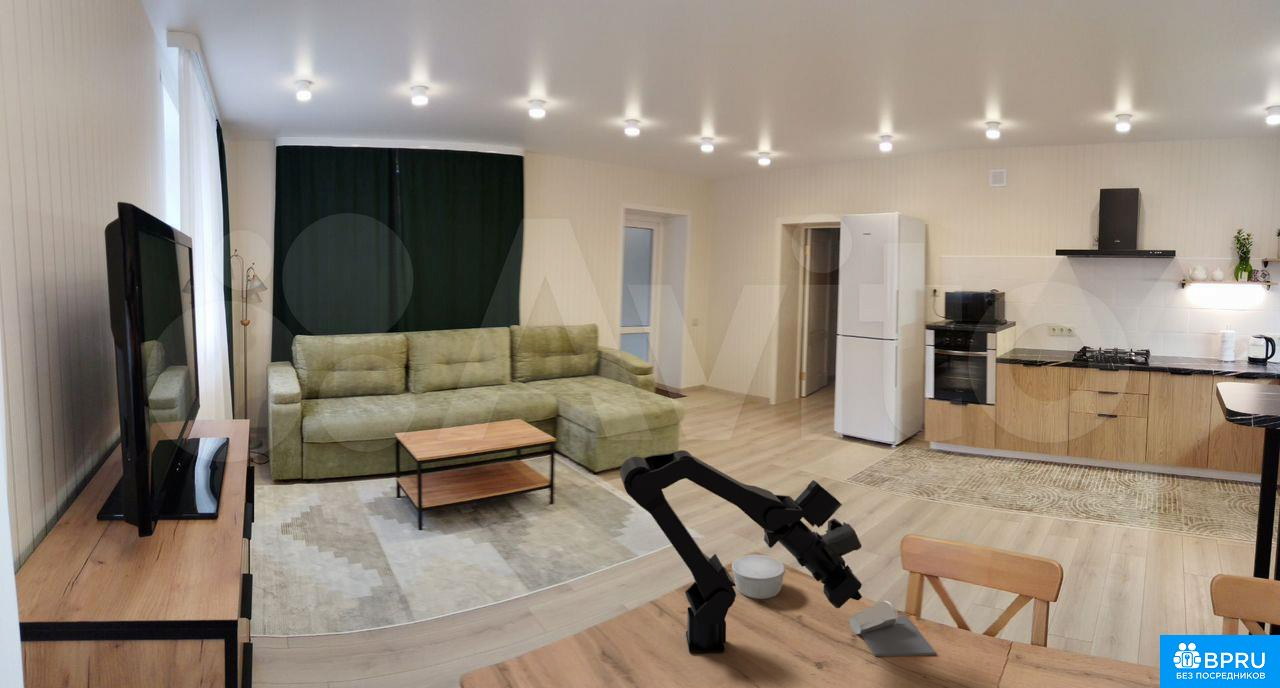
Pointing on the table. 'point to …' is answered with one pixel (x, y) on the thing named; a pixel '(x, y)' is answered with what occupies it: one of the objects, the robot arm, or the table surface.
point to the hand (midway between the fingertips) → (859, 597)
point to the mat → (897, 640)
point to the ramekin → (758, 576)
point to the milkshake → (874, 617)
